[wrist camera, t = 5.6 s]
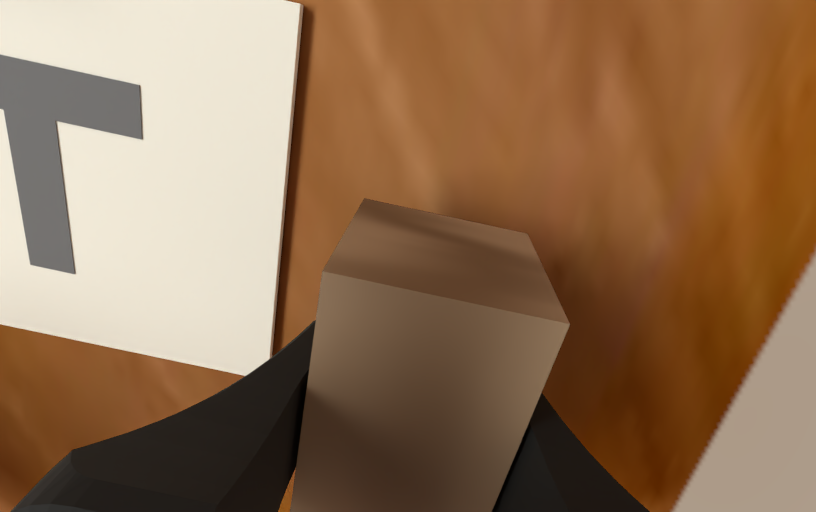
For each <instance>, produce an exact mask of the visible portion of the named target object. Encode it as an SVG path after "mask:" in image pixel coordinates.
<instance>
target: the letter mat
mask: <svg viewBox="0 0 816 512" xmlns="http://www.w3.org/2000/svg"><path fill="white" fill-rule="evenodd" d="M302 16H303V5H302V4H299V3H294V2H290V1H285V0H0V324H2V325H7V326H11V327H16V328H21V329H26V330H30V331H35V332H40V333H45V334H49V335H54V336H59V337H64V338H68V339H73V340H78V341H83V342H87V343H92V344H97V345H102V346H106V347H111V348H116V349H121V350H125V351H130V352H135V353H139V354H144V355H149V356H154V357H158V358H163V359H168V360H173V361H177V362H182V363H187V364H192V365H196V366H201V367H206V368H211V369H215V370H220V371H225V372H230V373H234V374H239V375H244V376H246V375H248V374H249V373H251V372H252V371H253V370H255V369H256V368H258V367H259V366H261V365H262V364H263V363H265V362H266V361H268V360H269V359H270V358H272V350H273V339H274V328H275V317H276V306H277V294H278V283H279V272H280V261H281V250H282V239H283V228H284V216H285V205H286V194H287V183H288V172H289V161H290V150H291V138H292V127H293V116H294V105H295V94H296V83H297V72H298V60H299V49H300V38H301V27H302Z"/></svg>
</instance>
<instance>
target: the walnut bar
mask: <svg viewBox="0 0 816 512" xmlns="http://www.w3.org/2000/svg"><path fill="white" fill-rule="evenodd" d="M569 326H570V323H569V321H568V319H567V317H566V315H565V312H564V310H563V308H562V306H561V304H560V302H559V300H558V298H557V295H556V293H555V291H554V289H553V287H552V285H551V283H550V281H549V278H548V276H547V274H546V272H545V270H544V268H543V266H542V264H541V261H540V259H539V257H538V255H537V253H536V251H535V249H534V246H533V244H532V242H531V240H530V238H529V236H528V234H527V233H522V232H518V231H513V230H508V229H504V228H499V227H494V226H490V225H485V224H481V223H476V222H471V221H467V220H462V219H457V218H453V217H448V216H444V215H439V214H434V213H430V212H425V211H420V210H416V209H411V208H407V207H402V206H397V205H393V204H388V203H384V202H379V201H374V200H370V199H365V198H364V200H363V202H362V203H361V205H360V207H359V209H358V210H357V212H356V214H355V216H354V217H353V219H352V221H351V222H350V224H349V226H348V228H347V229H346V231H345V233H344V235H343V236H342V238H341V240H340V242H339V243H338V245H337V247H336V248H335V250H334V252H333V254H332V255H331V257H330V259H329V261H328V262H327V264H326V266H325V268H324V269H323V271H322V278H321V285H320V293H319V300H318V308H317V315H316V323H315V330H314V337H313V345H312V352H311V360H310V367H309V375H308V382H307V390H306V397H305V405H304V412H303V420H302V427H301V435H300V442H299V449H298V457H297V464H296V472H295V479H294V487H293V494H292V502H291V509H290V512H492V510H493V507H494V505H495V503H496V500H497V498H498V495H499V493H500V491H501V488H502V486H503V483H504V481H505V479H506V476H507V474H508V471H509V469H510V467H511V464H512V462H513V459H514V457H515V455H516V452H517V450H518V448H519V445H520V443H521V440H522V438H523V436H524V433H525V431H526V428H527V426H528V424H529V421H530V419H531V416H532V414H533V412H534V409H535V407H536V404H537V402H538V400H539V397H540V395H541V392H542V390H543V388H544V385H545V383H546V381H547V378H548V376H549V373H550V371H551V369H552V366H553V364H554V361H555V359H556V357H557V354H558V352H559V349H560V347H561V345H562V342H563V340H564V337H565V335H566V333H567V330H568V328H569Z"/></svg>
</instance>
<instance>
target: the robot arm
mask: <svg viewBox="0 0 816 512" xmlns="http://www.w3.org/2000/svg"><path fill="white" fill-rule="evenodd" d="M315 323H316V320H315V321H313V322H312V323H311V324H310V325H309V326H308V327H307V328H306V329H305V330H304V331H303V332H302V333H300V334H299V335H298V336H297V337H296V338H295V339H294V340H292V341H291V342H290V343H289V344H288V345H287V346H285V347H284V348H283V349H282V350H280V351H279V352H278V353H277V354H275V355H274V356H273V357H272V358H270V359H269V360H268V361H266V362H265V363H263V364H262V365H261V366H259V367H258V368H256V369H255V370H253V371H252V372H251V373H249V374H248V375H246V376H245V377H243V378H242V379H240V380H239V381H237V382H235V383H234V384H232V385H231V386H229V387H227V388H225V389H224V390H222V391H220V392H219V393H217V394H215V395H213V396H211V397H209V398H207V399H205V400H204V401H202V402H200V403H198V404H195V405H193V406H191V407H189V408H187V409H185V410H183V411H181V412H179V413H177V414H174V415H172V416H170V417H167V418H165V419H162V420H160V421H158V422H155V423H152V424H150V425H147V426H145V427H142V428H139V429H137V430H134V431H131V432H128V433H125V434H122V435H119V436H116V437H113V438H110V439H107V440H103V441H100V442H97V443H94V444H91V445H88V446H85V447H81V448H77V449H74V450H72V451H71V452H70V453H69V454H68V455H67V456H66V457H65V458H63V459H62V460H61V461H60V462H59V463H58V464H57V465H55V466H54V467H53V468H52V469H51V470H50V471H49V472H48V473H47V474H46V475H45V476H44V477H43V478H42V479H41V480H40V481H39V482H38V483H37V484H36V485H35V486H34V488H33V489H32V490H31V491H30V492H29V493H28V494H27V495H26V496H25V497H24V498H23V499H22V500H21V501H20V502H19V503H18V504H17V505H16V506H15V507H14V509H13V510H12V511H11V512H278V510H279V507H280V504H281V501H282V499H283V496H284V493H285V491H286V488H287V486H288V484H289V481H290V479H291V477H292V474H293V472H294V470H295V468H296V464H297V457H298V449H299V442H300V435H301V427H302V420H303V412H304V405H305V397H306V390H307V382H308V375H309V367H310V360H311V352H312V345H313V337H314V330H315ZM492 512H649V511H648V510H647V509H646V508H645V507H644V506H643V505H642V504H641V503H639V502H638V501H637V500H636V499H635V498H634V497H633V496H632V495H631V494H629V493H628V492H627V491H626V490H625V489H624V488H623V487H622V486H621V485H620V484H619V483H618V482H617V481H616V480H615V479H614V478H613V477H612V476H611V475H610V474H609V473H608V472H607V471H606V470H605V469H604V468H603V467H602V466H601V465H600V464H599V463H598V462H597V461H596V459H595V458H594V457H593V456H592V455H591V454H590V453H589V452H588V451H587V450H586V448H585V447H584V446H583V445H582V444H581V442H580V441H579V440H578V439H577V438H576V437H575V435H574V434H573V433H572V432H571V431H570V429H569V428H568V427H567V426H566V424H565V423H564V422H563V421H562V419H561V418H560V417H559V415H558V414H557V413H556V411H555V410H554V409H553V407H552V406H551V405H550V403H549V402H548V401H547V399H546V398H545V396H544V395H543V394H542V392H541V395H540V397H539V400H538V402H537V404H536V407H535V409H534V412H533V414H532V416H531V419H530V421H529V424H528V426H527V428H526V431H525V433H524V436H523V438H522V440H521V443H520V445H519V448H518V450H517V452H516V455H515V457H514V459H513V462H512V464H511V467H510V469H509V471H508V474H507V476H506V479H505V481H504V483H503V486H502V488H501V491H500V493H499V495H498V498H497V500H496V503H495V505H494V507H493V510H492Z"/></svg>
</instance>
